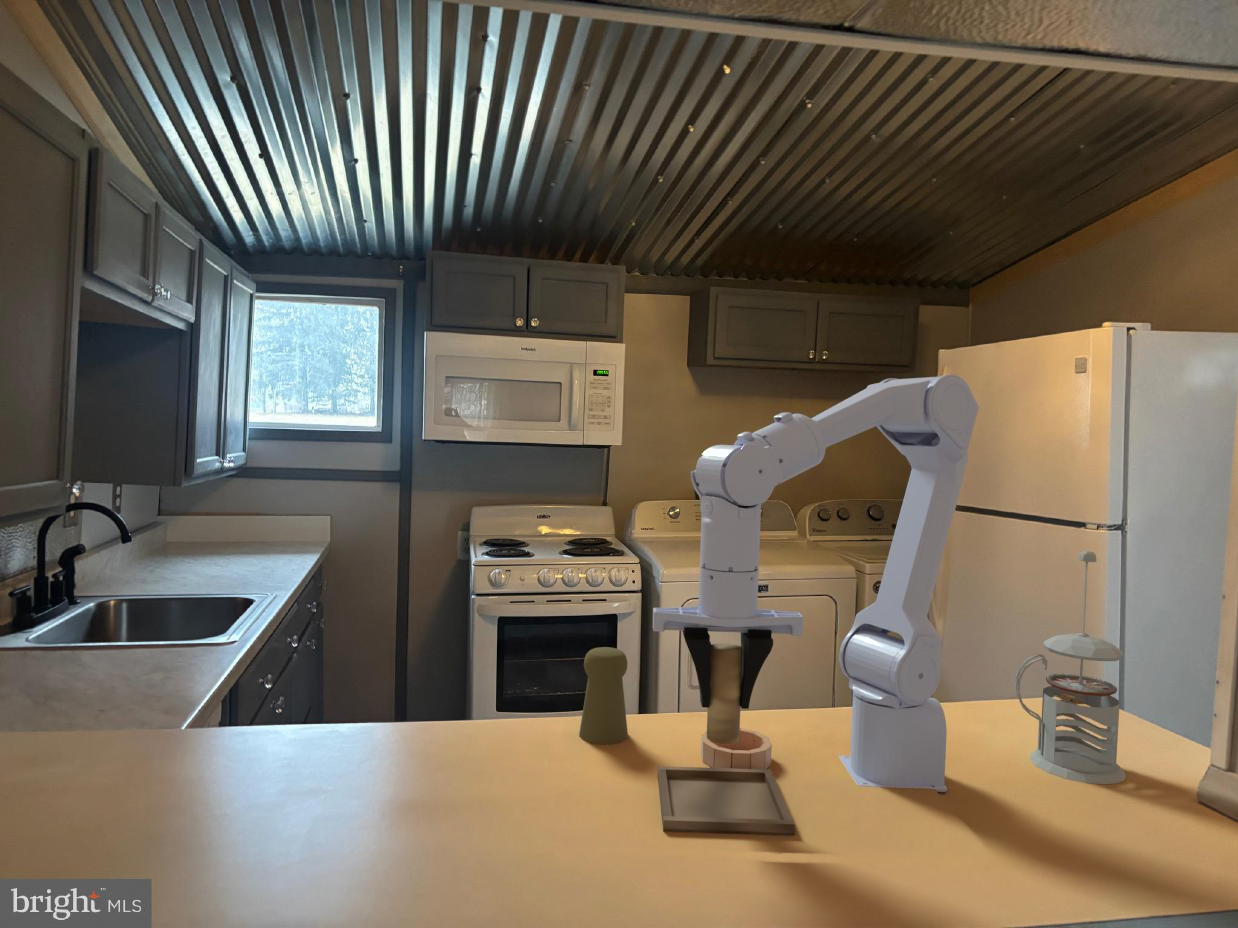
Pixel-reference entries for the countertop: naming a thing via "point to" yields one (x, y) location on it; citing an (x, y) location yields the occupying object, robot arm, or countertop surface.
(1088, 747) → the french press
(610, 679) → the olive green pawn
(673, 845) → the countertop surface
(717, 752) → the pink round piece
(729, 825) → the walnut tray
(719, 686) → the dowel pin
